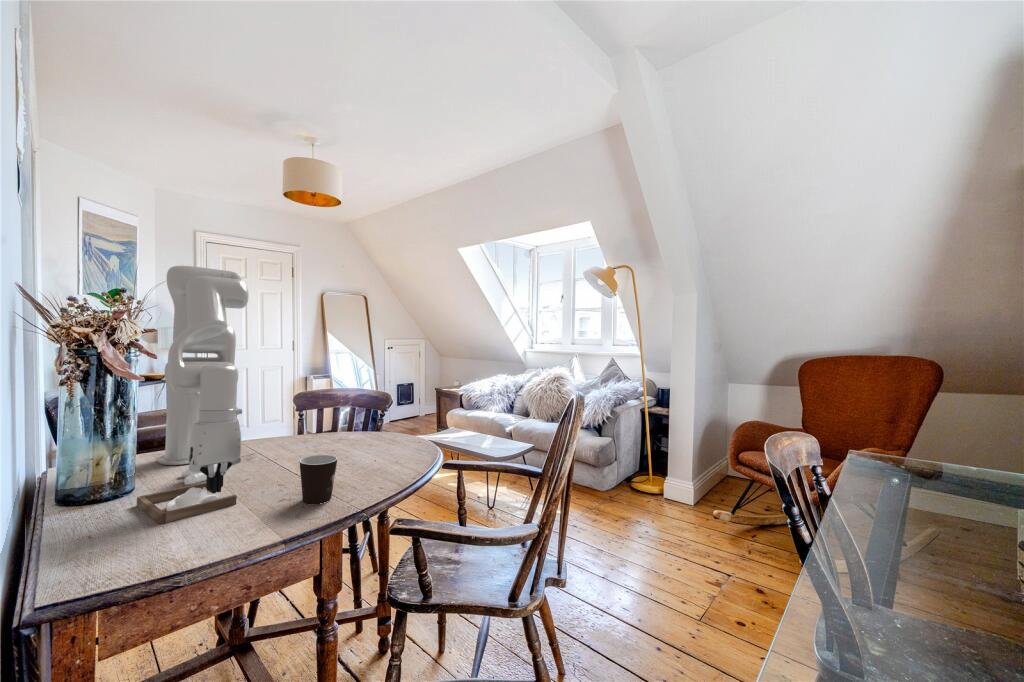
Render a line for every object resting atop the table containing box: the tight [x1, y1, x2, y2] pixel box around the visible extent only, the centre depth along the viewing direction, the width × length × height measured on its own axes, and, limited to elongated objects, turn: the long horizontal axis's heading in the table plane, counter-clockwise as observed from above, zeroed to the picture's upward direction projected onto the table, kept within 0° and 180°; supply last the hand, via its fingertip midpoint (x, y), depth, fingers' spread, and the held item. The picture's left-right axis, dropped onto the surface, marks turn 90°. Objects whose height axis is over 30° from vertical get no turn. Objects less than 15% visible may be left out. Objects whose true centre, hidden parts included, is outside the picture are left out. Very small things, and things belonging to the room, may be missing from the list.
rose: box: [165, 487, 219, 512], centre depth 99 cm, size 10×4×10 cm
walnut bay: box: [136, 481, 238, 525], centre depth 99 cm, size 15×14×2 cm
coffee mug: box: [298, 454, 339, 505], centre depth 107 cm, size 12×9×10 cm
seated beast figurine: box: [180, 464, 217, 486], centre depth 117 cm, size 10×9×12 cm
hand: (214, 491), depth 104 cm, fingers closed
